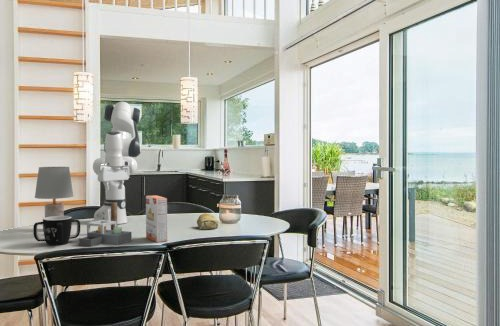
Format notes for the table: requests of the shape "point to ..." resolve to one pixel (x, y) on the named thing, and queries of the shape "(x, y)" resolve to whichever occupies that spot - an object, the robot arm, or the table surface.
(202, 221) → the pastry
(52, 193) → the lamp
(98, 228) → the button breaker
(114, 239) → the grey stand
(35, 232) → the mug
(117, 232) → the button on
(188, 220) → the table surface
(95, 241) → the block
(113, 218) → the dowel
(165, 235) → the cracker box
